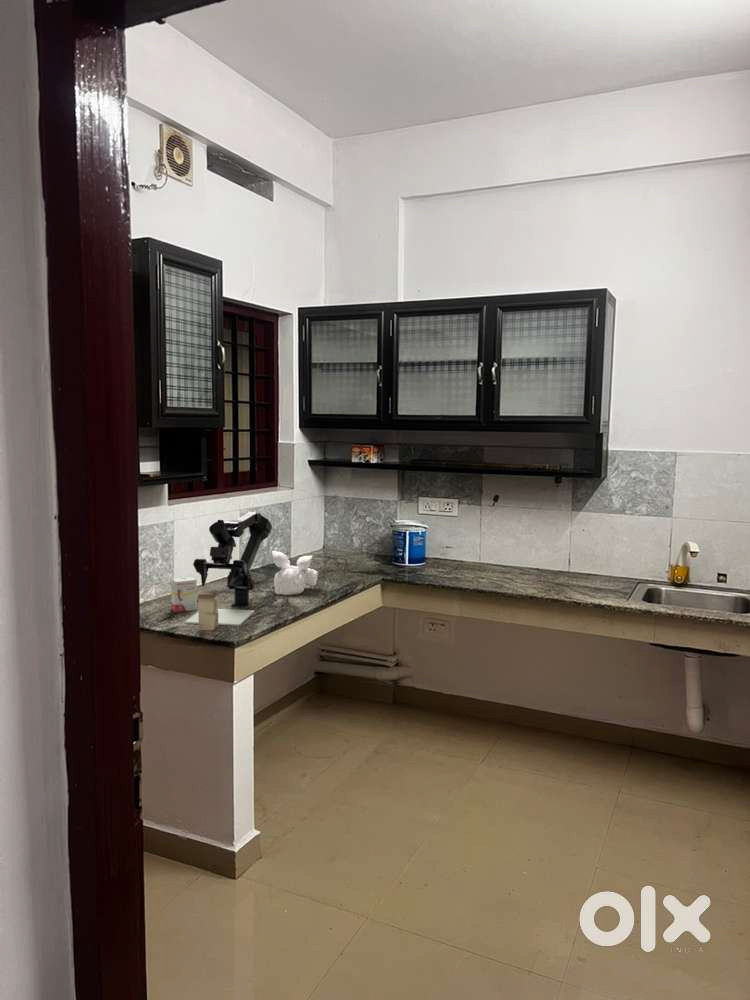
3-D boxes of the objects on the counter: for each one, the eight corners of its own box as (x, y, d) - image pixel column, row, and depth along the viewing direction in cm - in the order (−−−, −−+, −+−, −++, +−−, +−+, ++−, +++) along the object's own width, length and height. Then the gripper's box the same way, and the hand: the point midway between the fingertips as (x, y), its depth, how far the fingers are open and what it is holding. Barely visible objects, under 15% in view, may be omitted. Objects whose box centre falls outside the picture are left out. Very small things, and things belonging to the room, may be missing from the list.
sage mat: (203, 609, 280) (203, 608, 280) (254, 611, 278) (254, 610, 278) (184, 623, 261) (184, 621, 261) (239, 625, 259) (239, 624, 259)
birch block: (204, 624, 260) (204, 590, 259) (218, 625, 259) (217, 590, 258) (198, 629, 254) (198, 594, 253) (212, 630, 254) (212, 594, 252)
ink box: (174, 612, 276) (174, 581, 274) (171, 609, 280) (170, 579, 279) (197, 609, 280) (197, 579, 279) (193, 606, 284) (193, 576, 283)
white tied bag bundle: (263, 575, 299) (274, 542, 314) (268, 609, 311) (278, 576, 327) (309, 579, 297) (318, 546, 313) (312, 613, 310) (320, 580, 325)
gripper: (194, 536, 267) (183, 573, 258) (244, 538, 265) (235, 574, 255) (202, 554, 276) (192, 589, 266) (251, 555, 274) (242, 591, 264)
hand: (215, 586), depth 263 cm, fingers open, 9 cm apart
